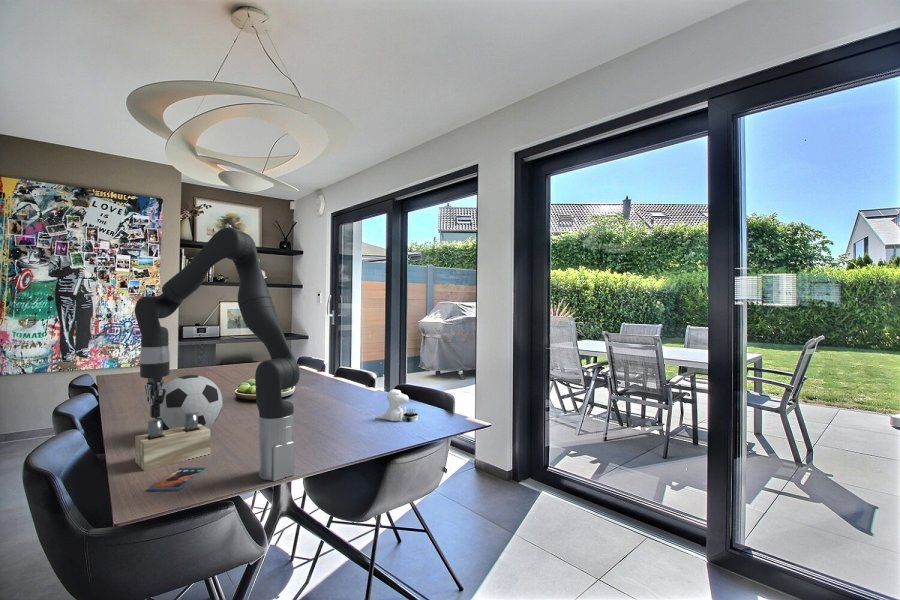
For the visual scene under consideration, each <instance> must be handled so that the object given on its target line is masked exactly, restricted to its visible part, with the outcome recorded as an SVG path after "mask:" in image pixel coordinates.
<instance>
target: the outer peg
mask: <svg viewBox="0 0 900 600" xmlns="http://www.w3.org/2000/svg"><path fill="white" fill-rule="evenodd" d="M162 431H163V430H162V419H155V418H152V419H149V420H148V421H147V434H148V440H151V439H156V438H161V437H162Z"/></svg>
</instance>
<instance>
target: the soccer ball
mask: <svg viewBox="0 0 900 600" xmlns="http://www.w3.org/2000/svg"><path fill="white" fill-rule="evenodd" d="M163 389H165V390H166V392H165V396H164V400H163V403H162V404H161V405H160V417H157V418H154V419H162V431H165V430H170V429H175V428H180V427H185V414H187V413H198V424H201V425H203V426H205V427H206V428H208V429H210V428H211V426H213V425H214V424H215V422H216V421H218V418H219V416H220V415H221V412H222V409H223V396H222V393H221V390H220V389H219V387H218V385H217V384H216V383H215V382H213V381H212V380H211V379H209V378H207V377H204V376H201V375H197V374H196V375H195V374H188V375H183V376H182V375H181V376H179V377H176V378H174V379H172V380H170V381H169V382H167V383H166V384H164V388H163Z"/></svg>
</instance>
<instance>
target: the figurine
mask: <svg viewBox="0 0 900 600" xmlns="http://www.w3.org/2000/svg"><path fill="white" fill-rule="evenodd" d="M386 397H387V399H386V400H387V401H388V404H389V405H388V407H387V410H386V412H384V413H381V414H379V415H376V416H375V418H376V419H377V420H383V421H384V420H386V421H391V422H399V423H401V422H403V421H404V422H407V423H409V422H410V423H411V422H417V421H418V420H419V418H418V417H419V413H418V412H416V409H415V408H413V407H412V409H411V407H410V408H408V409H407V406H404V407H403V408H402V405H406V404H407V403H408V402H409V400H410V398H409V396H408V395H407V394H404V393H402V391H401V390H400V389H391V390H390V391H389V392H388V393H387V396H386Z"/></svg>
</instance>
